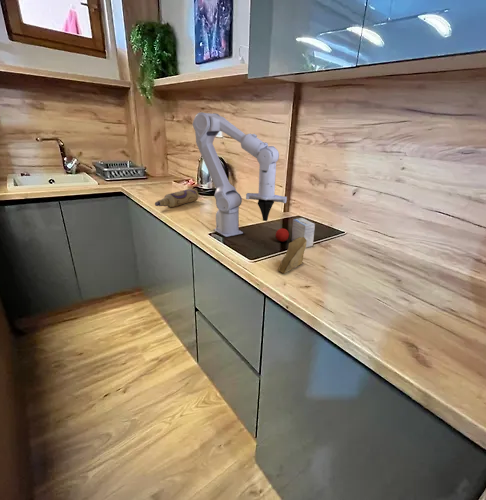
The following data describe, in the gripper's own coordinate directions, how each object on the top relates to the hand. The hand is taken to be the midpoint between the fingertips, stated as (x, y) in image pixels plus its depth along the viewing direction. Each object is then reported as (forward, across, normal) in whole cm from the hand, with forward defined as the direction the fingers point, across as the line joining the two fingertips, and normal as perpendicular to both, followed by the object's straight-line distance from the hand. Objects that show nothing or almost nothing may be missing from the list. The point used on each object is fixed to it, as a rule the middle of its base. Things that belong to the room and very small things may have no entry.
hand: (265, 220), depth 112 cm
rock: (+8, +13, -20) cm, 25 cm away
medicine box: (+8, +14, 0) cm, 16 cm away
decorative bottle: (+8, -54, +34) cm, 64 cm away
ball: (+5, +7, 0) cm, 8 cm away
